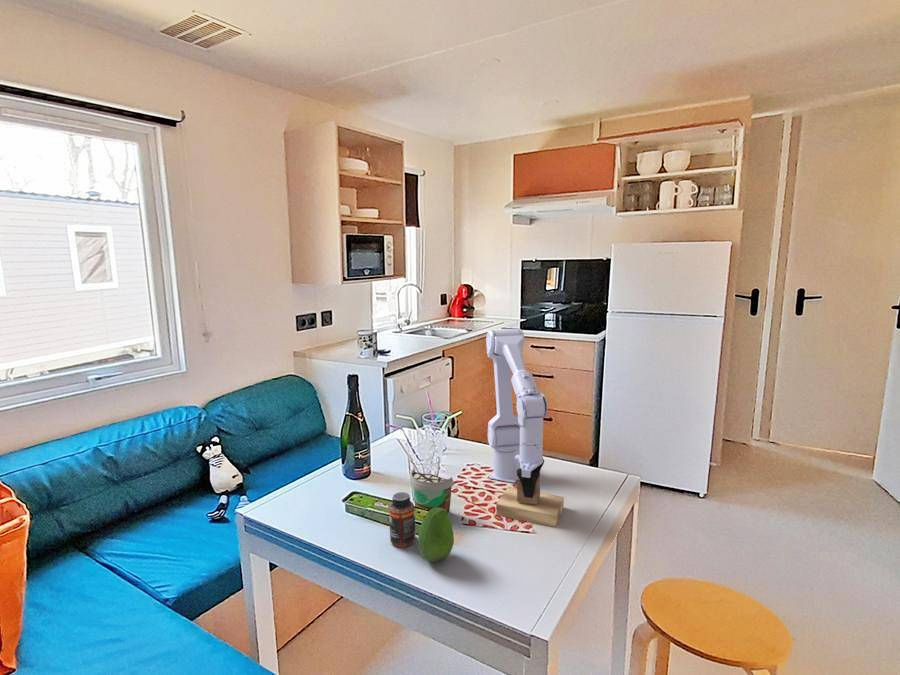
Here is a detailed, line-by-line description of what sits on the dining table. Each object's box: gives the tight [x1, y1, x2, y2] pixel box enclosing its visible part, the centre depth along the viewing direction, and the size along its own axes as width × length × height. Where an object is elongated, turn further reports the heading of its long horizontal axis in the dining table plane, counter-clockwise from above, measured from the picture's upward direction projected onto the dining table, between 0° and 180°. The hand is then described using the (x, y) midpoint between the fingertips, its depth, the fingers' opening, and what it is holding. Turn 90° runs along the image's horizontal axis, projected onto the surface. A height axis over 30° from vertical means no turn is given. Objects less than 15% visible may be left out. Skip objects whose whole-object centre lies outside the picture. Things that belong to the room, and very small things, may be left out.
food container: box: [408, 468, 455, 514], centre depth 126 cm, size 12×6×10 cm, turn 62°
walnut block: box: [516, 475, 541, 504], centre depth 126 cm, size 5×5×6 cm
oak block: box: [495, 486, 565, 528], centre depth 127 cm, size 10×15×3 cm, turn 66°
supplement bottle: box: [388, 491, 417, 548], centre depth 114 cm, size 6×6×11 cm
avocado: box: [418, 508, 455, 563], centre depth 107 cm, size 8×8×12 cm
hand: (530, 491), depth 126 cm, fingers closed on walnut block, 5 cm apart
